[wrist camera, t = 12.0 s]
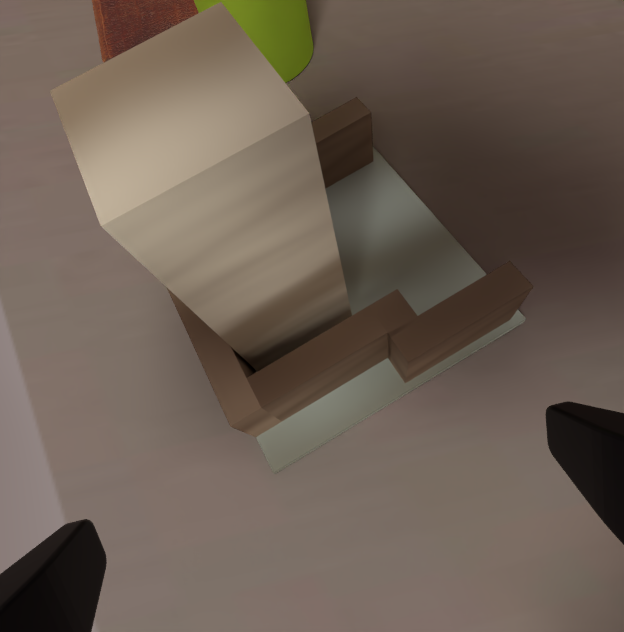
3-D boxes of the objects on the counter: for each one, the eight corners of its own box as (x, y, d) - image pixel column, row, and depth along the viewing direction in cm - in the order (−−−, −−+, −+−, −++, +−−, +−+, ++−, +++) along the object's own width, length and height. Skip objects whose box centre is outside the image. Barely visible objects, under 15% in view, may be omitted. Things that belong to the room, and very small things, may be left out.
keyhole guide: (523, 322, 17) (552, 285, 14) (275, 473, 17) (250, 468, 14) (366, 144, 22) (362, 88, 19) (170, 255, 22) (133, 215, 19)
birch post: (353, 322, 18) (309, 113, 8) (261, 375, 18) (100, 226, 8) (305, 247, 20) (220, 1, 10) (221, 294, 20) (49, 90, 10)
